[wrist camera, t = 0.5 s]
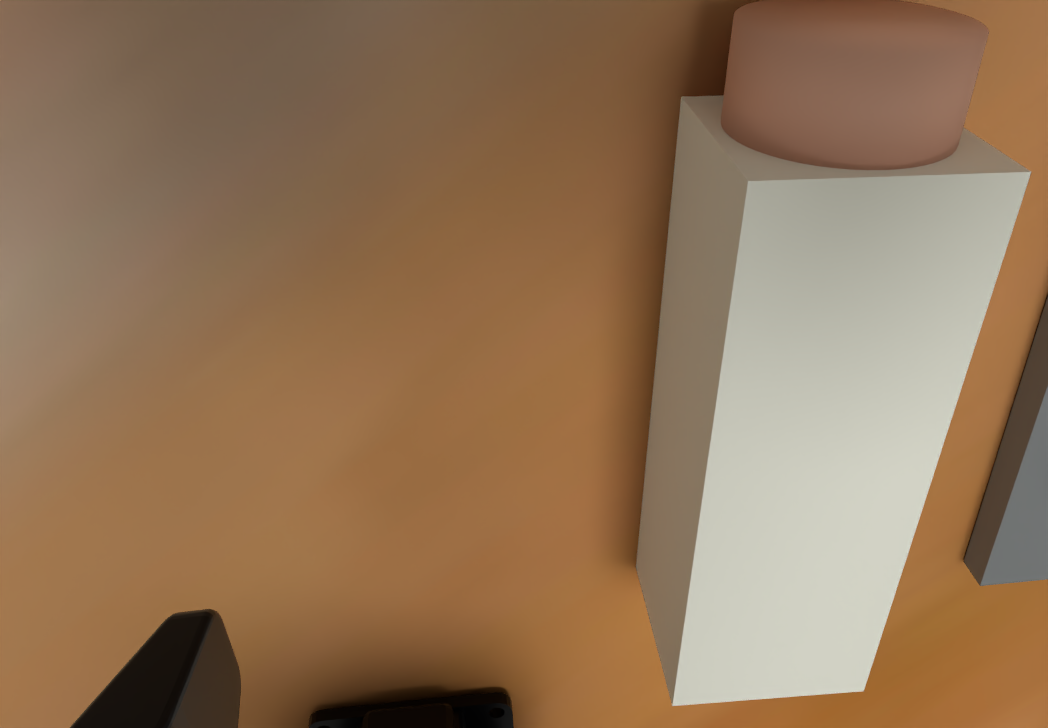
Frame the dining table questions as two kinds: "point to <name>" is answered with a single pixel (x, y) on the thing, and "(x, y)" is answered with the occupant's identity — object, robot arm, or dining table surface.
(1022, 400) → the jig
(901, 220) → the white block
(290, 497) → the dining table surface
